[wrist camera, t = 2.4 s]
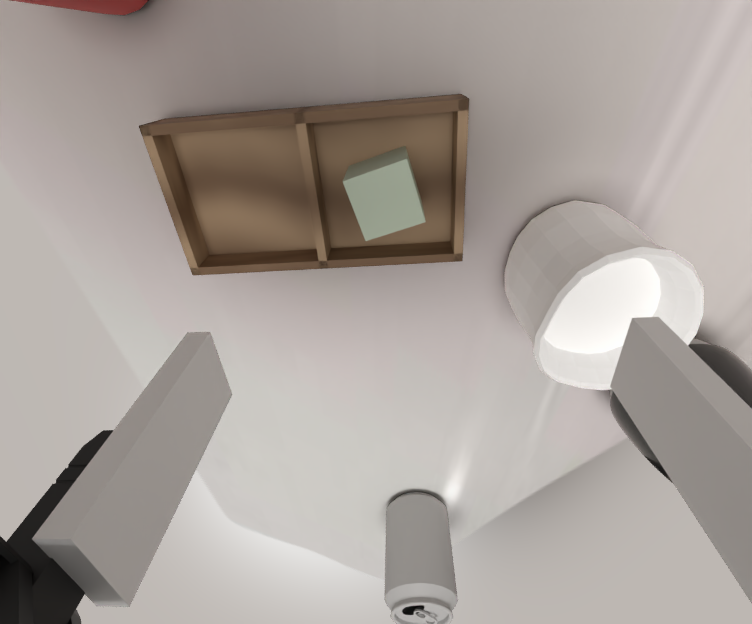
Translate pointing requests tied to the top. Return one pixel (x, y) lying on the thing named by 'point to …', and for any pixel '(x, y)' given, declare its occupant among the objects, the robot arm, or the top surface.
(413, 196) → the sage block
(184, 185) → the tray
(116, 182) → the top surface
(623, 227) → the cup
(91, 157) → the top surface
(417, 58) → the top surface
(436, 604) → the can
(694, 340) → the egg shaped speaker
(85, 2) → the beer can
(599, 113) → the top surface
